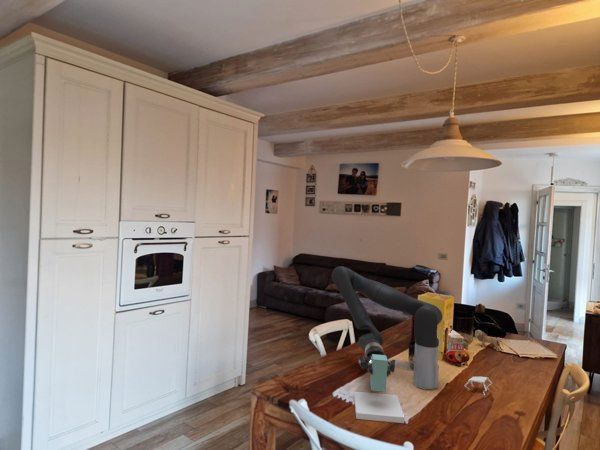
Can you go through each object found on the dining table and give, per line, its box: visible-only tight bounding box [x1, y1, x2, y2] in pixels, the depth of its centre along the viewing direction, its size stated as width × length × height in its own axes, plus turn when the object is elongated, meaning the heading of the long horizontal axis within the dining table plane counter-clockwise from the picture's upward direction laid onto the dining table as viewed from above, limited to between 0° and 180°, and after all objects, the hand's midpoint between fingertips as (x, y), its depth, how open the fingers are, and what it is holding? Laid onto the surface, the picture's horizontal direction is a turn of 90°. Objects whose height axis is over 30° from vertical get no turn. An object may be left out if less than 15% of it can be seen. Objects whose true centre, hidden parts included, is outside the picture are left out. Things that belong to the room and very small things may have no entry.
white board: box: [353, 391, 406, 424], centre depth 137 cm, size 16×16×2 cm
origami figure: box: [463, 376, 493, 396], centre depth 156 cm, size 12×8×5 cm
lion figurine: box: [474, 329, 504, 352], centre depth 211 cm, size 15×5×9 cm, turn 55°
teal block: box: [369, 354, 389, 392], centre depth 137 cm, size 5×5×11 cm
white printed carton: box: [447, 329, 465, 352], centre depth 198 cm, size 21×6×12 cm, turn 1°
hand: (379, 372), depth 134 cm, fingers closed on teal block, 5 cm apart
